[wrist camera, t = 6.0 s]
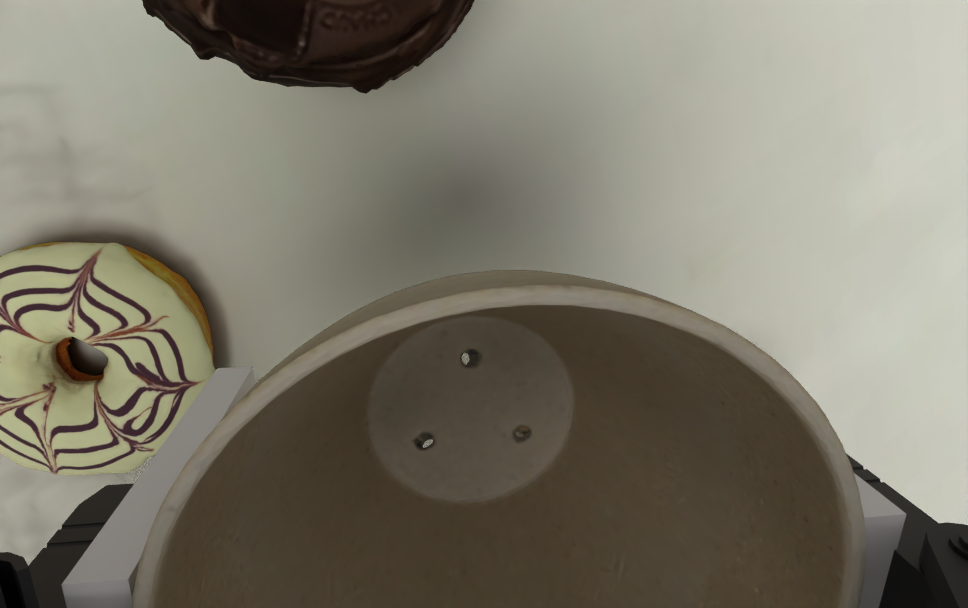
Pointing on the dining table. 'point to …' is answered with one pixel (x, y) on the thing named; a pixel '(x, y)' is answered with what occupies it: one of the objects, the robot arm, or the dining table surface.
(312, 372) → the flower pot
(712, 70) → the dining table surface
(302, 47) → the coffee cup
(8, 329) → the decorated donut
